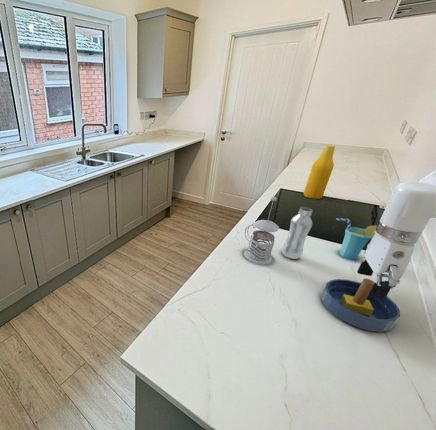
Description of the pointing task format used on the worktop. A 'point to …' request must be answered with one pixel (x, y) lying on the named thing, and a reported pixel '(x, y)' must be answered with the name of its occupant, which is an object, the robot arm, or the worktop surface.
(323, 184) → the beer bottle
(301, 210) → the silver metal bottle
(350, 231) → the cup
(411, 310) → the worktop surface
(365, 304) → the rubber stamp
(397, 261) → the robot arm
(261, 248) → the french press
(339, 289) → the bowl
